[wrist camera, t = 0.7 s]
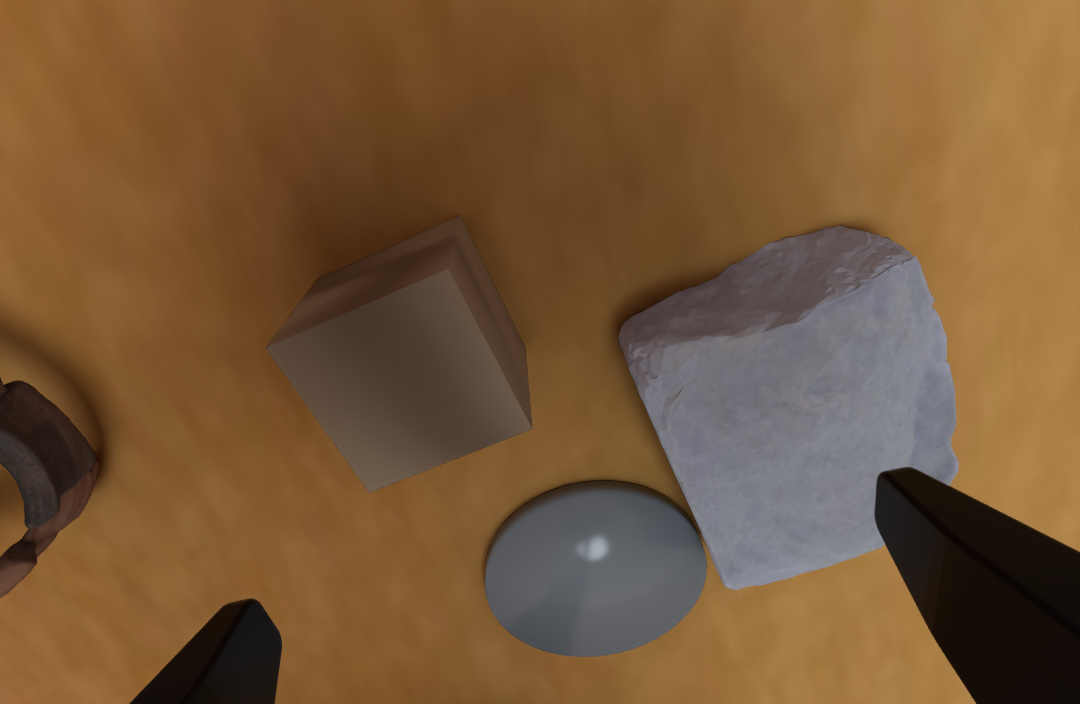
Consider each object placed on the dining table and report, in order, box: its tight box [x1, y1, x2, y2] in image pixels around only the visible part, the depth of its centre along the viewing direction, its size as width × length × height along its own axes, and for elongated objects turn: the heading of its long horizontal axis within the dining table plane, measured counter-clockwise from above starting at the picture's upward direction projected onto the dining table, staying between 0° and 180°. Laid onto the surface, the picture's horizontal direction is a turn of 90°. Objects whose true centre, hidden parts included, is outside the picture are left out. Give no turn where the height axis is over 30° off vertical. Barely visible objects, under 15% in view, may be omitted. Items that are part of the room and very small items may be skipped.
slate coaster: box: [485, 481, 707, 657], centre depth 26 cm, size 9×9×1 cm
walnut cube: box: [266, 215, 532, 493], centre depth 18 cm, size 5×5×5 cm
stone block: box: [618, 226, 958, 590], centre depth 22 cm, size 12×5×10 cm
